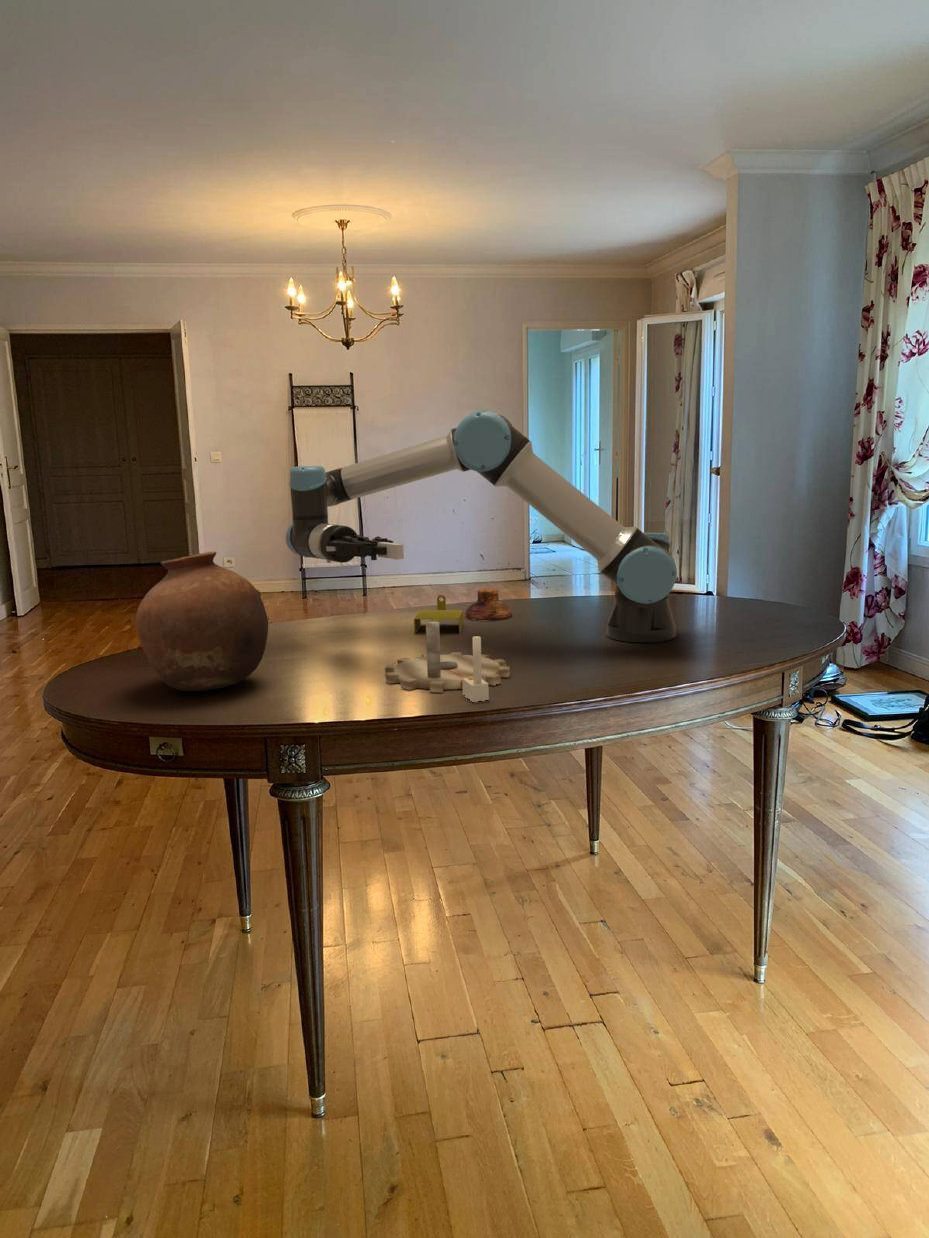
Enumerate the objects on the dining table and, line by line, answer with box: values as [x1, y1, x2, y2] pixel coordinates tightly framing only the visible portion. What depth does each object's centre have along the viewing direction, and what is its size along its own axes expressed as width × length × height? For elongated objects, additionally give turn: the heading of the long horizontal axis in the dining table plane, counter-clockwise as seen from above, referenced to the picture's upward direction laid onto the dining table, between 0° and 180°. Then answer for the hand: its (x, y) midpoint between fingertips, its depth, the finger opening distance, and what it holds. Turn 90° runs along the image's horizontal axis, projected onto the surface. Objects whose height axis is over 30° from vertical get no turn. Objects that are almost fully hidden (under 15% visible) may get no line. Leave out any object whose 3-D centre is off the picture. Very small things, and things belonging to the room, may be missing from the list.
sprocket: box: [384, 621, 511, 693], centre depth 165 cm, size 23×23×12 cm
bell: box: [465, 588, 513, 621], centre depth 220 cm, size 12×12×7 cm
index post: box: [462, 635, 490, 703], centre depth 150 cm, size 5×3×11 cm, turn 19°
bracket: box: [413, 594, 464, 635], centre depth 205 cm, size 16×8×15 cm
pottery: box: [135, 550, 269, 692], centre depth 160 cm, size 23×23×25 cm
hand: (400, 552), depth 163 cm, fingers closed
